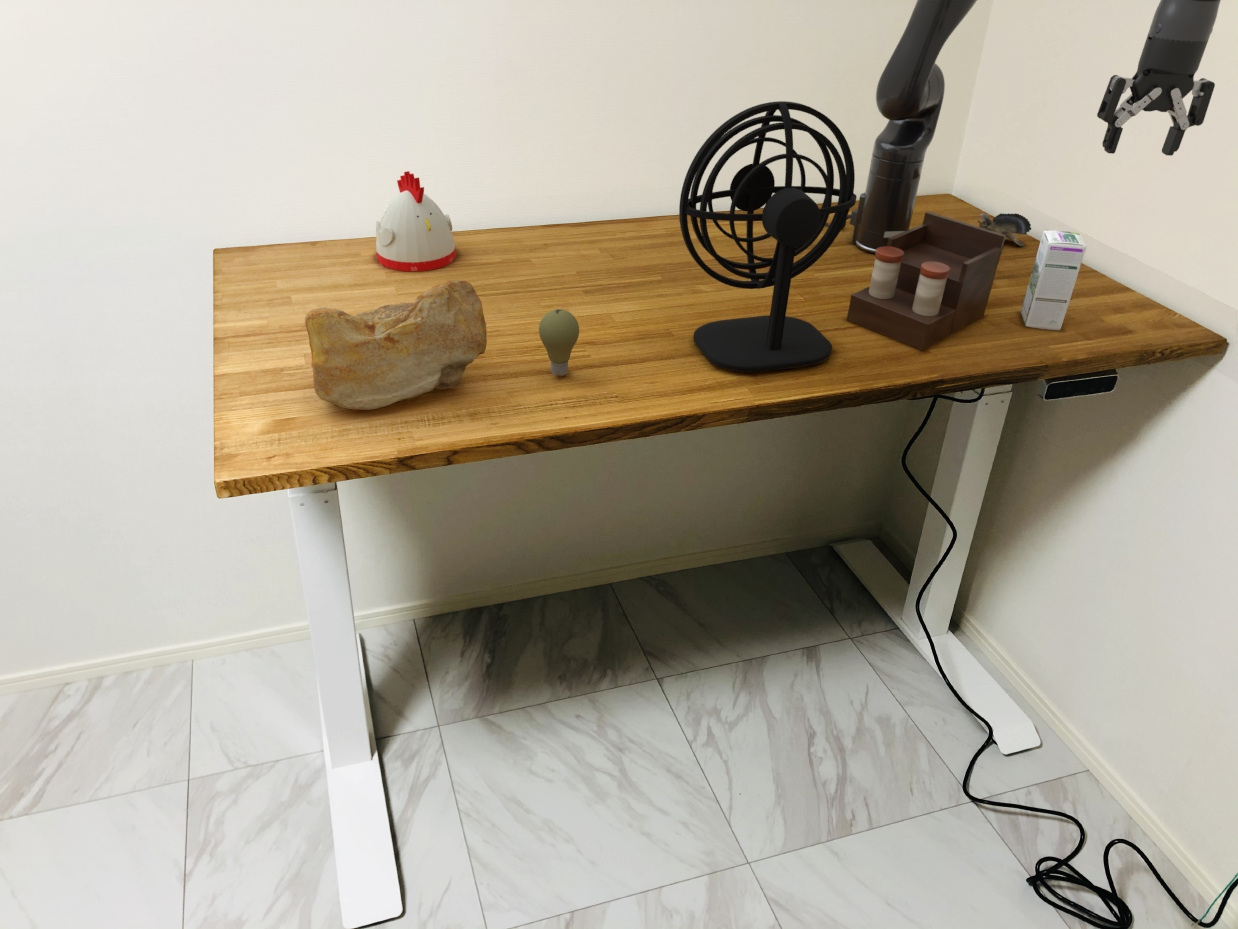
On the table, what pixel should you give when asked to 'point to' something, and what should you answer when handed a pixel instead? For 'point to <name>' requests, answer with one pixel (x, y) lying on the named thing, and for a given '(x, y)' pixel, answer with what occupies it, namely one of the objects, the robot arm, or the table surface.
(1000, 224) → the squirrel figurine
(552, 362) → the light bulb
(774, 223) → the desk fan
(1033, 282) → the syrup box
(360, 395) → the rough brown rock
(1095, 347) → the table surface
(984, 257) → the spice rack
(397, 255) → the kitchen timer
